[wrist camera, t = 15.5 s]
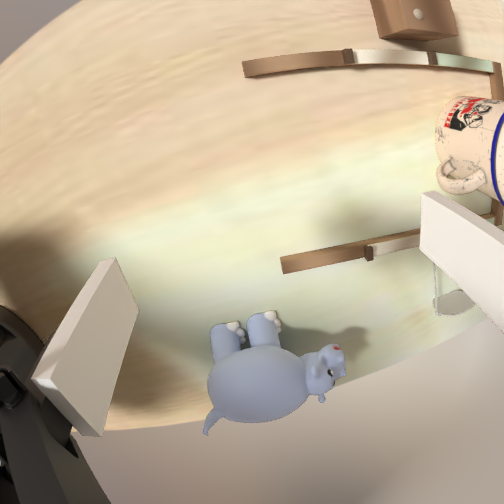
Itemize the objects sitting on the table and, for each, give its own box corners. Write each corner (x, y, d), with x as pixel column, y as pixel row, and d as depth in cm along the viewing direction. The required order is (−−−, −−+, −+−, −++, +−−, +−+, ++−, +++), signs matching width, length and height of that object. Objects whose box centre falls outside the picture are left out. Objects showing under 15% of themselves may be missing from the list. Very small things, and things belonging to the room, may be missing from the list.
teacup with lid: (477, 81, 21) (566, 93, 10) (501, 160, 24) (578, 196, 14) (393, 126, 23) (483, 152, 13) (426, 211, 27) (502, 270, 16)
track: (281, 268, 29) (284, 279, 27) (241, 63, 21) (242, 60, 19) (496, 221, 28) (505, 227, 26) (494, 63, 19) (505, 63, 18)
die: (378, 38, 20) (408, 28, 15) (366, -12, 17) (391, -30, 13) (426, 41, 19) (459, 35, 15) (414, -6, 17) (444, -19, 13)
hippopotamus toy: (339, 360, 35) (361, 423, 27) (222, 389, 37) (222, 454, 28) (326, 292, 30) (355, 360, 22) (186, 330, 32) (175, 402, 23)
